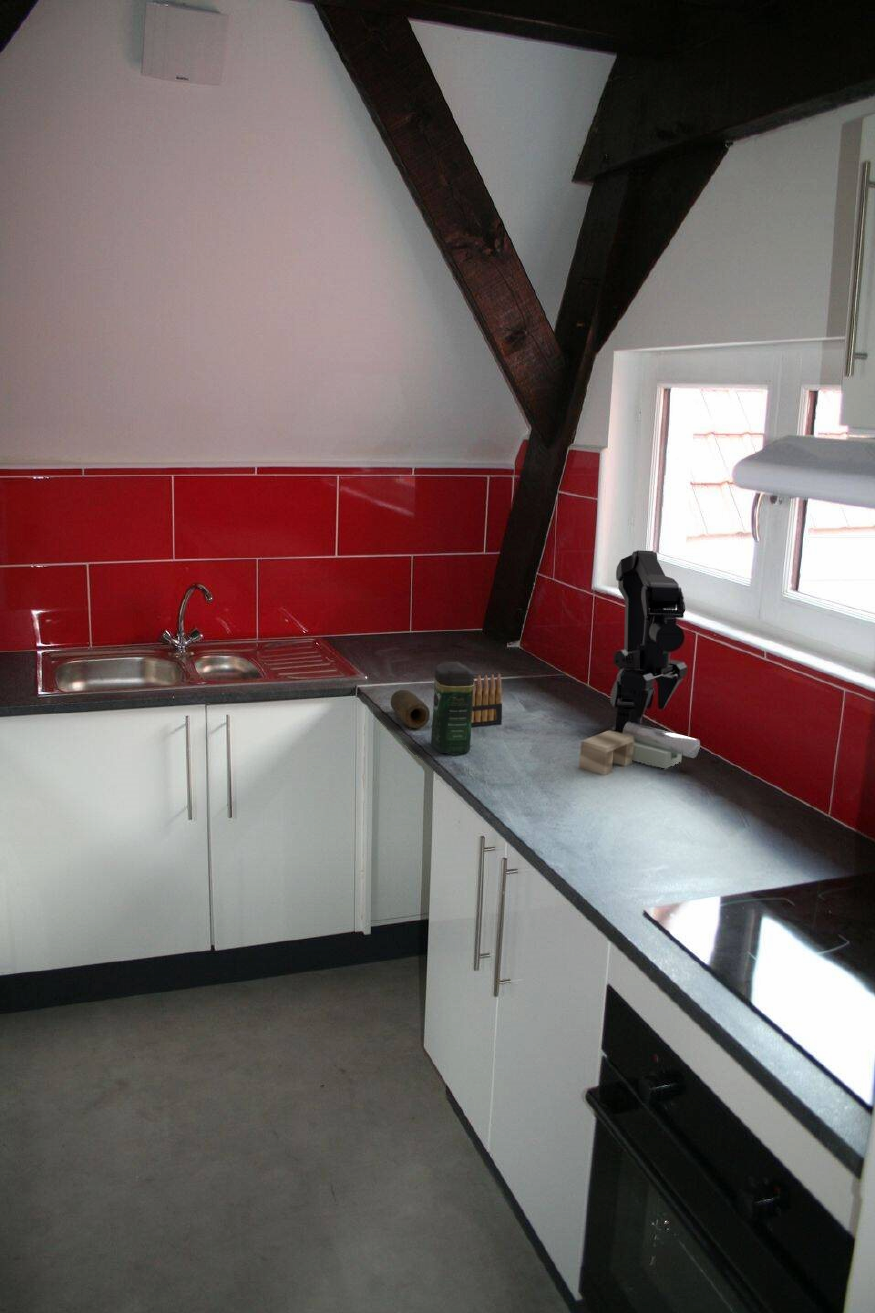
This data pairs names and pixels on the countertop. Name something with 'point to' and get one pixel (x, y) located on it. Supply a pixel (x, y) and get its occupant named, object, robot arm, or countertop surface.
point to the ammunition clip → (487, 703)
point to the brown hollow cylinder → (410, 709)
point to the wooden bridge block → (606, 751)
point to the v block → (654, 756)
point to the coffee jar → (452, 708)
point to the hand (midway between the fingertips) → (650, 713)
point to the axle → (663, 739)
